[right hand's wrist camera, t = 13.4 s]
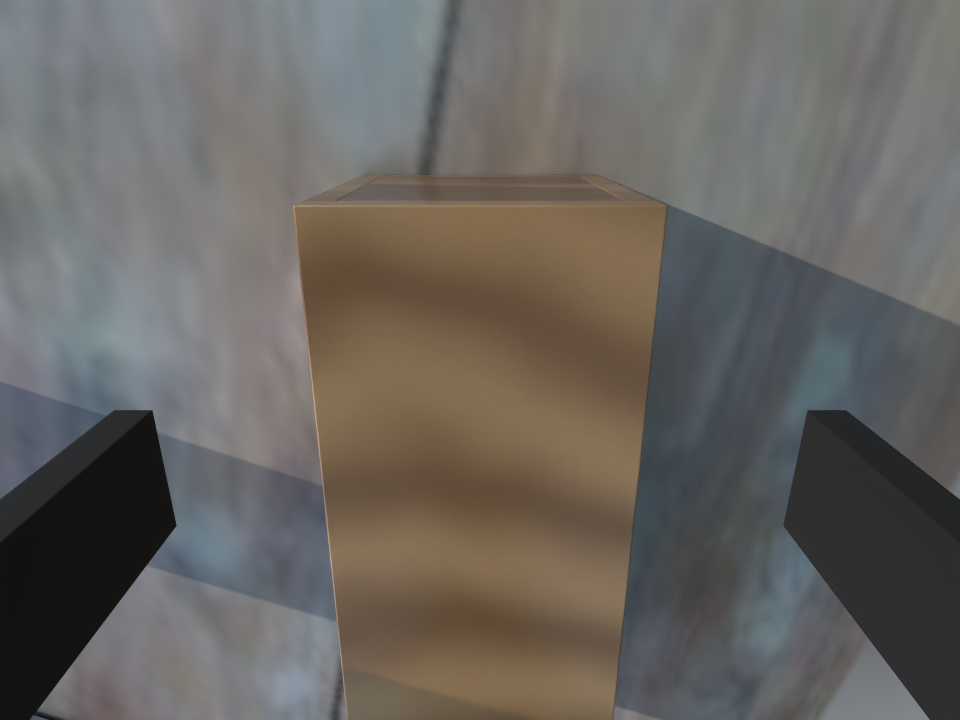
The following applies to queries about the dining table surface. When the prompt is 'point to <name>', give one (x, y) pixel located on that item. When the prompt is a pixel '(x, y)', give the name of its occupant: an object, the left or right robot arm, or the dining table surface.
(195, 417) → the dining table surface
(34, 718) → the wall clock
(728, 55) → the dining table surface
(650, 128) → the dining table surface
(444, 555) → the cabinet
